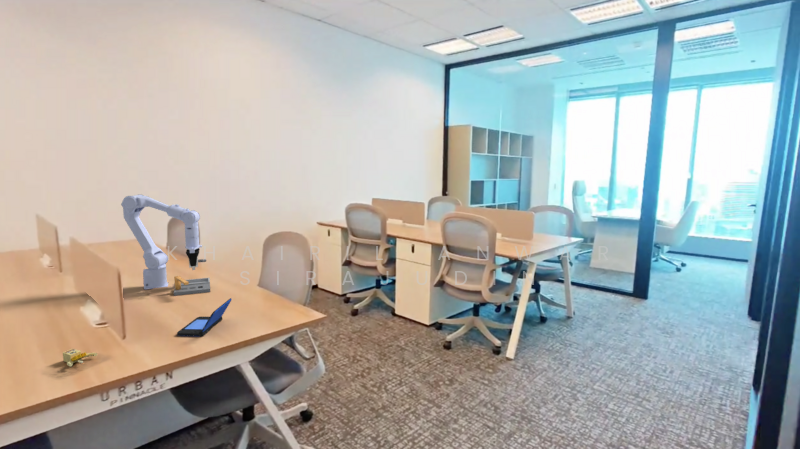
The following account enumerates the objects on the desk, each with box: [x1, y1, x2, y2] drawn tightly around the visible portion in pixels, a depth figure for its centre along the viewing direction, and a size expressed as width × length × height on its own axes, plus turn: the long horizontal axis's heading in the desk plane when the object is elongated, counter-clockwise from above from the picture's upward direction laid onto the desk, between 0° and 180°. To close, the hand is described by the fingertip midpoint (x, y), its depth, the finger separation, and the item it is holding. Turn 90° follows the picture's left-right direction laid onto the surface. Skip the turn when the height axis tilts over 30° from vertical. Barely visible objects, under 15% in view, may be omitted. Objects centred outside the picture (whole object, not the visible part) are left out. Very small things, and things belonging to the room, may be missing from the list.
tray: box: [181, 277, 211, 286], centre depth 196 cm, size 14×8×2 cm, turn 116°
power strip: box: [173, 283, 211, 297], centre depth 186 cm, size 14×9×2 cm, turn 116°
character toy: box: [62, 348, 98, 367], centre depth 120 cm, size 8×3×8 cm
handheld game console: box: [176, 297, 232, 338], centre depth 146 cm, size 16×13×9 cm
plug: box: [188, 255, 207, 271], centre depth 194 cm, size 7×4×6 cm, turn 115°
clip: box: [174, 275, 189, 290], centre depth 179 cm, size 13×2×6 cm, turn 45°
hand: (193, 265), depth 194 cm, fingers closed on plug, 4 cm apart
